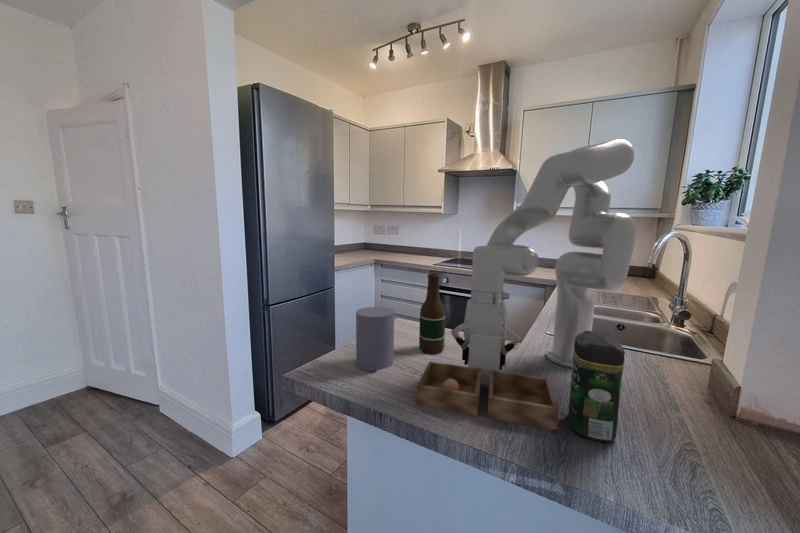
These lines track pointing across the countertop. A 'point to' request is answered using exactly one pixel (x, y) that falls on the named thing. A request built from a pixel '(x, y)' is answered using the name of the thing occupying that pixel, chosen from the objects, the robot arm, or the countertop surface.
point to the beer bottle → (432, 319)
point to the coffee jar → (596, 385)
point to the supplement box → (484, 354)
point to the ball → (451, 384)
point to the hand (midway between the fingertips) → (483, 364)
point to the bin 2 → (522, 400)
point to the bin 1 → (446, 399)
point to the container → (374, 338)
